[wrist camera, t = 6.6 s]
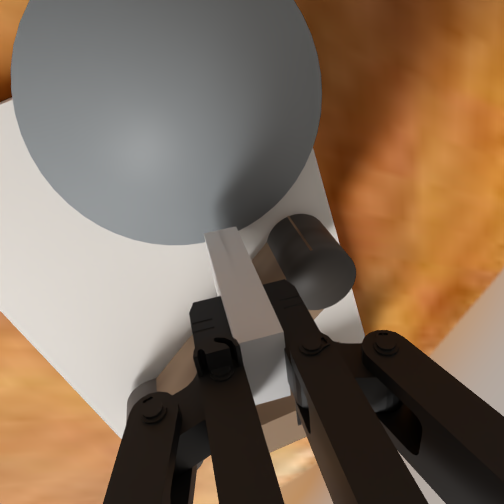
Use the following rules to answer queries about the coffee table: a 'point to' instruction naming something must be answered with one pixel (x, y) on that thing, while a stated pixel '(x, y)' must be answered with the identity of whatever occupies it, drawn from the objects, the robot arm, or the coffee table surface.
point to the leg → (270, 270)
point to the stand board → (151, 178)
